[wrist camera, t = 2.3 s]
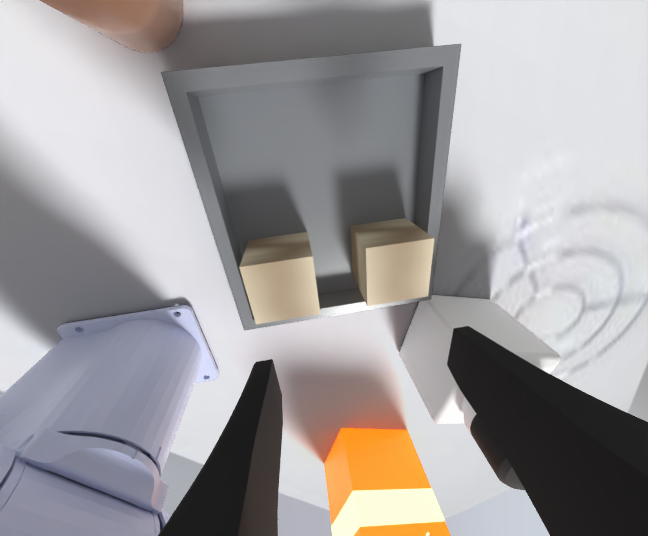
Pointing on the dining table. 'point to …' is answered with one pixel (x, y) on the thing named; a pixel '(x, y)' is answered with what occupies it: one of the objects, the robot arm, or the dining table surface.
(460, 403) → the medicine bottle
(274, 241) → the birch block
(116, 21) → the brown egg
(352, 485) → the orange juice
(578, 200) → the dining table surface
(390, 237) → the birch block
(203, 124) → the tray
